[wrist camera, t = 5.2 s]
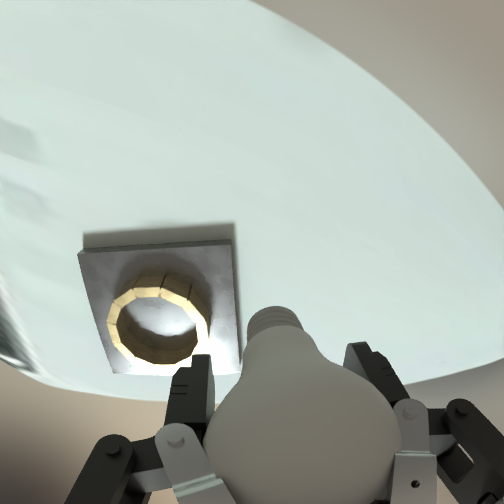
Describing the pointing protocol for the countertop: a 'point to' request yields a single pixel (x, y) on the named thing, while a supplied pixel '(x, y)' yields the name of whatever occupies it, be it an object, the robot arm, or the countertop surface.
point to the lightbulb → (300, 424)
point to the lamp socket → (163, 305)
